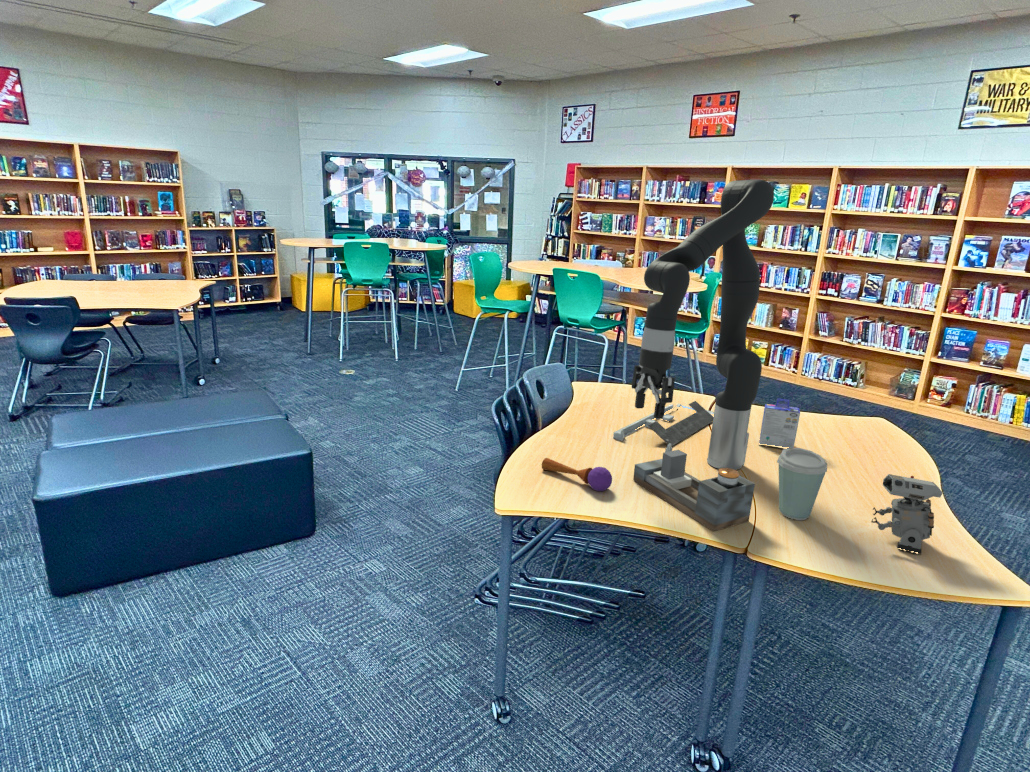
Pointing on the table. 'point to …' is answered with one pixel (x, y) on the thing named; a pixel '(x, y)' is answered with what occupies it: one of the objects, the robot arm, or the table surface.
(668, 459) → the carriage
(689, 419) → the paper cutter
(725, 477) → the button
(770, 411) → the ink cartridge box
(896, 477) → the figurine
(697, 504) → the grey stepped base
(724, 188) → the robot arm
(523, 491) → the table surface
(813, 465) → the disposable coffee cup
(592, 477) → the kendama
